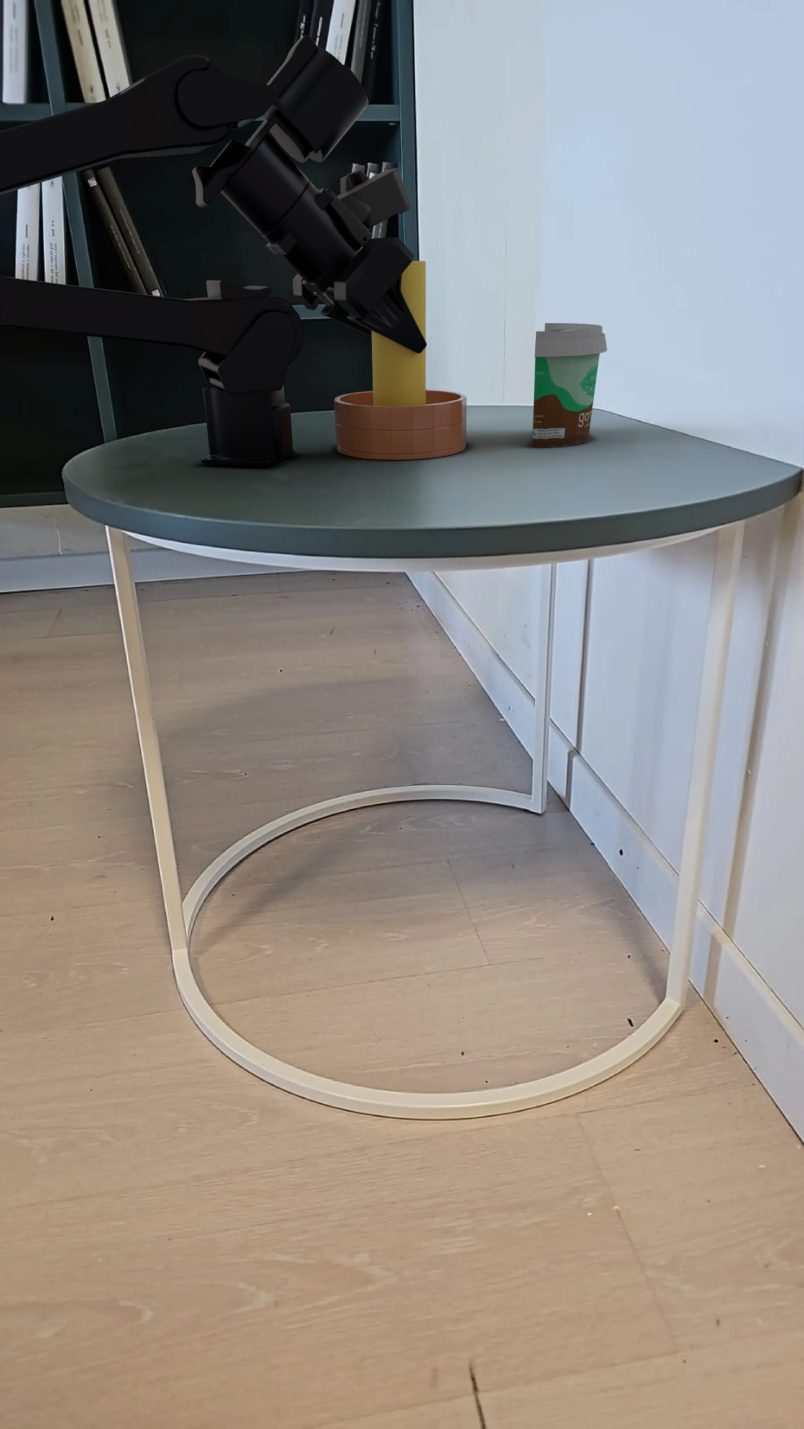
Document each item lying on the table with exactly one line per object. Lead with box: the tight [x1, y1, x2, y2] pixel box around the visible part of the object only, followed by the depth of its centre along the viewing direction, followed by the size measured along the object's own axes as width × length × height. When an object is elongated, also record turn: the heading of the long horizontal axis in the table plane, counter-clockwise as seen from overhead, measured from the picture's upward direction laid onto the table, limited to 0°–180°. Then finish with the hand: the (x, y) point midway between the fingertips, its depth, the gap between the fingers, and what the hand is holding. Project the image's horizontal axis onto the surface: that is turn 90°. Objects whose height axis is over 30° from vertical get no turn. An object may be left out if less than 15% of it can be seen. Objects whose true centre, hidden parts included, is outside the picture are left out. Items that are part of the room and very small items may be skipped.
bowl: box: [333, 388, 468, 461], centre depth 89 cm, size 12×12×4 cm
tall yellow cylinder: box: [371, 260, 427, 406], centre depth 86 cm, size 5×5×14 cm
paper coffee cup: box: [531, 322, 608, 448], centre depth 90 cm, size 12×6×10 cm, turn 168°
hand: (413, 347), depth 86 cm, fingers closed on tall yellow cylinder, 5 cm apart
